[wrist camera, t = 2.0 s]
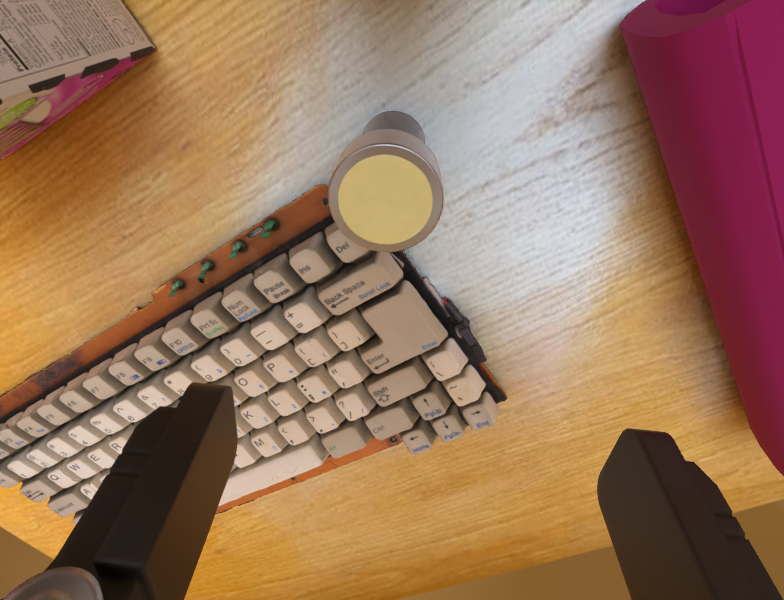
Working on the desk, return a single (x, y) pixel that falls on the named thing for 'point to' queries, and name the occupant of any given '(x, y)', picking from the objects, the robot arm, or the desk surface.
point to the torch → (387, 186)
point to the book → (726, 172)
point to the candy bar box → (60, 60)
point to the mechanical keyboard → (261, 366)
